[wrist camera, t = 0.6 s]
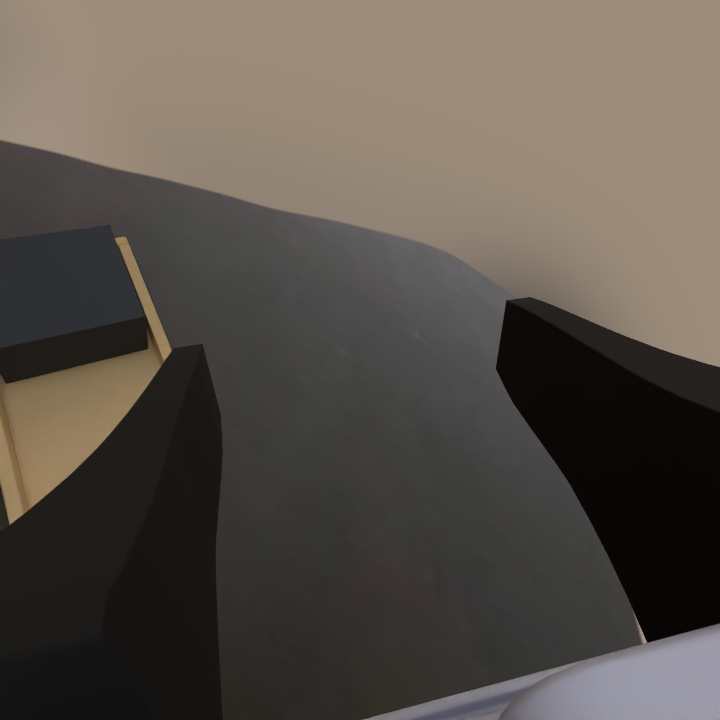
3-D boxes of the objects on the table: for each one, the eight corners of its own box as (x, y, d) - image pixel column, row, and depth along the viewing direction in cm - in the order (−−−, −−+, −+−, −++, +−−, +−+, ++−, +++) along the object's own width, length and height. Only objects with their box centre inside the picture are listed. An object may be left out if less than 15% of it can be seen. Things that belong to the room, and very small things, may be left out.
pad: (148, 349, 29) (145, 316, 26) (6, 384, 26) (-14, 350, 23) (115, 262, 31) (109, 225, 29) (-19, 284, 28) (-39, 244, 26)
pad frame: (218, 485, 27) (221, 472, 25) (27, 561, 23) (15, 551, 21) (128, 259, 33) (125, 236, 31) (-37, 286, 28) (-51, 261, 27)
